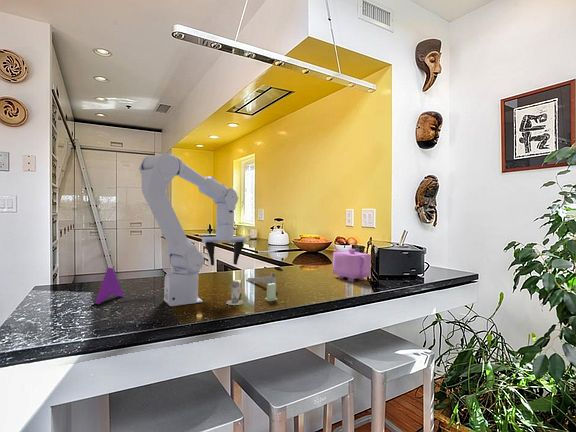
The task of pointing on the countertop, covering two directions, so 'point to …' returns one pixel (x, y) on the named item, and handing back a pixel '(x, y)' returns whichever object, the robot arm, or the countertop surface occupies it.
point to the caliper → (264, 279)
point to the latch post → (271, 292)
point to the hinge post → (235, 294)
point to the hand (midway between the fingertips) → (223, 264)
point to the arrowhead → (109, 287)
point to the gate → (239, 286)
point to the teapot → (351, 264)
